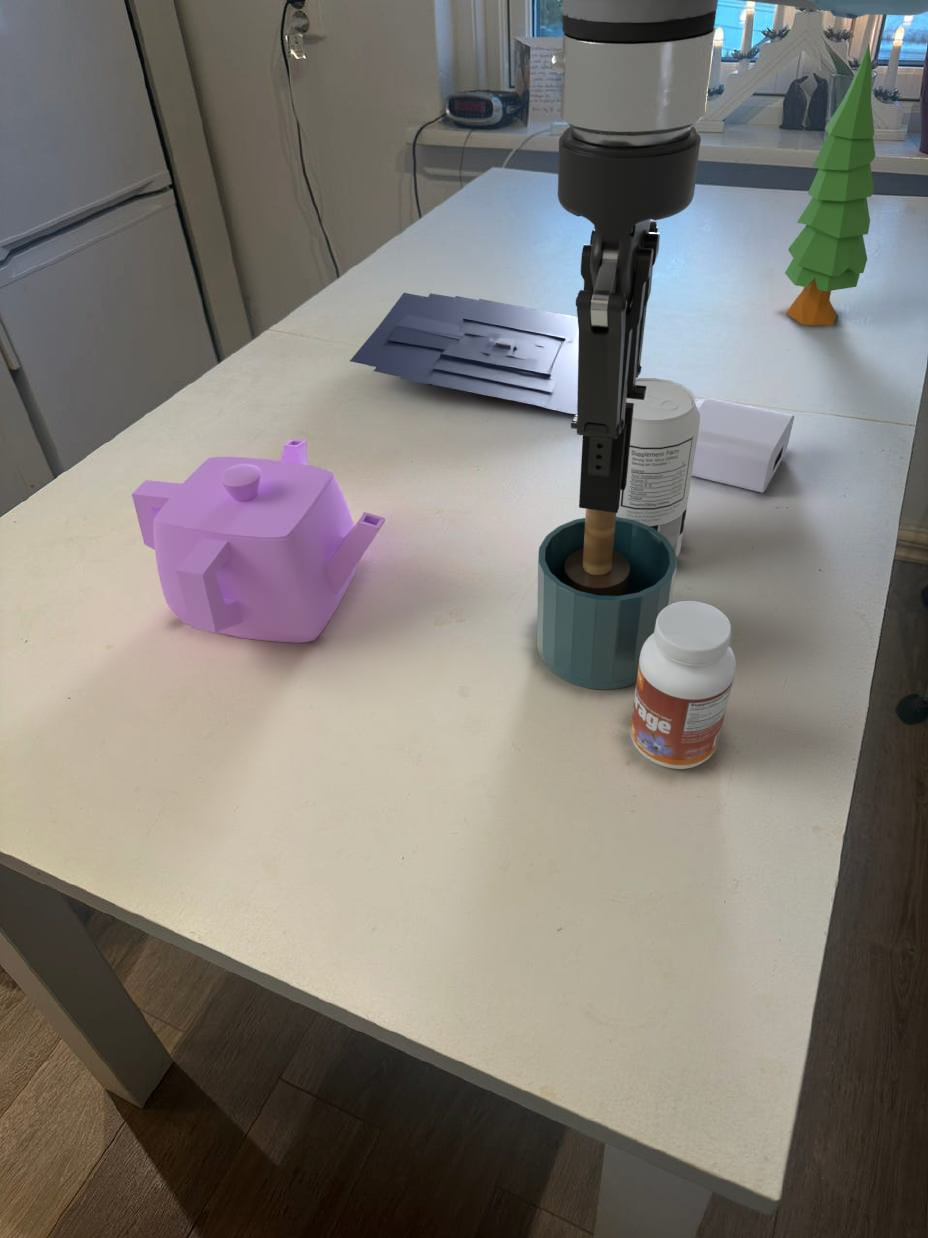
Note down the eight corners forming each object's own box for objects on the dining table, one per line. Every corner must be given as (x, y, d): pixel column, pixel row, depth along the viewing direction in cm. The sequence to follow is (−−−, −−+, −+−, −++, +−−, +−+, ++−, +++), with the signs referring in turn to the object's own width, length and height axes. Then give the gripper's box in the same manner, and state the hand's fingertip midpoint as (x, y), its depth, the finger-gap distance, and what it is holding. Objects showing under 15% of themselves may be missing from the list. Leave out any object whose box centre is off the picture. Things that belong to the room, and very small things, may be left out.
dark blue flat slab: (407, 306, 119) (408, 280, 117) (624, 347, 115) (630, 320, 112) (344, 390, 102) (343, 361, 99) (597, 441, 98) (603, 412, 95)
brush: (634, 630, 68) (661, 397, 55) (573, 641, 68) (585, 408, 54) (612, 590, 72) (633, 363, 59) (554, 601, 71) (561, 373, 58)
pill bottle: (614, 719, 64) (626, 605, 57) (689, 697, 65) (710, 582, 58) (655, 783, 60) (674, 669, 52) (734, 757, 61) (763, 642, 54)
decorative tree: (806, 297, 118) (864, 34, 98) (869, 316, 113) (944, 42, 93) (762, 318, 114) (814, 47, 94) (827, 340, 108) (896, 57, 88)
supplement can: (571, 558, 78) (579, 407, 68) (614, 513, 83) (627, 365, 73) (655, 589, 75) (675, 434, 65) (694, 539, 80) (719, 388, 70)
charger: (648, 421, 96) (786, 452, 90) (615, 461, 90) (761, 497, 84) (652, 381, 93) (796, 410, 87) (619, 420, 87) (770, 455, 81)
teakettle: (149, 575, 79) (106, 458, 71) (321, 514, 85) (299, 399, 77) (208, 690, 68) (165, 566, 60) (401, 611, 74) (386, 488, 66)
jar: (683, 676, 67) (699, 585, 61) (558, 700, 66) (561, 611, 60) (636, 594, 74) (646, 507, 68) (523, 615, 73) (523, 527, 67)
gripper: (589, 92, 53) (574, 436, 68) (525, 164, 42) (524, 551, 58) (716, 94, 51) (670, 447, 67) (683, 170, 40) (638, 569, 56)
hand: (603, 495), depth 62 cm, fingers closed on brush, 2 cm apart
